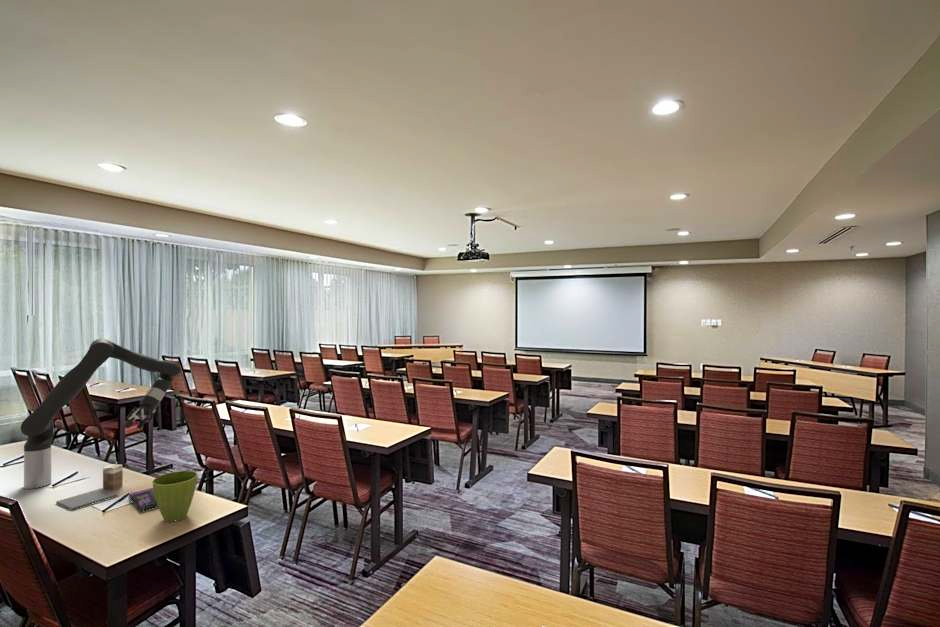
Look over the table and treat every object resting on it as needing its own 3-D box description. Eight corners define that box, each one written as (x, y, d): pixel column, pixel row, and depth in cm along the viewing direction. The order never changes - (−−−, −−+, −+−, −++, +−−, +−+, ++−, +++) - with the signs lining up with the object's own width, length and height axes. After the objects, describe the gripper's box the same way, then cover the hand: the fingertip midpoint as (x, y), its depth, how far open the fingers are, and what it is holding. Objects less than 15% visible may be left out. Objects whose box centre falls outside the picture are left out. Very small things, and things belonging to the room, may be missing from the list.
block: (103, 489, 204) (103, 468, 204) (112, 485, 209) (112, 464, 209) (113, 490, 204) (113, 468, 204) (122, 485, 209) (122, 464, 209)
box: (128, 501, 194) (140, 514, 181) (128, 493, 194) (139, 505, 181) (166, 491, 204) (179, 502, 191) (166, 483, 204) (179, 494, 191)
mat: (56, 503, 189) (56, 501, 189) (101, 490, 204) (101, 488, 204) (72, 510, 183) (72, 508, 183) (117, 496, 197) (117, 494, 197)
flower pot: (201, 518, 176) (201, 478, 176) (155, 530, 166) (155, 487, 166) (193, 506, 187) (193, 468, 187) (150, 517, 177) (150, 476, 177)
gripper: (136, 394, 227) (115, 424, 217) (156, 394, 222) (136, 425, 212) (148, 401, 232) (128, 431, 222) (168, 402, 228) (149, 432, 218)
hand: (132, 428), depth 217 cm, fingers open, 8 cm apart
